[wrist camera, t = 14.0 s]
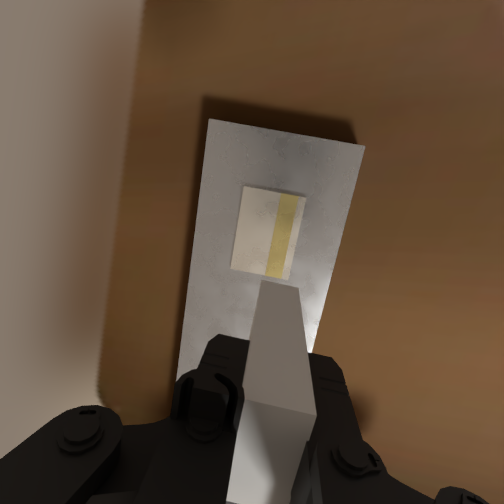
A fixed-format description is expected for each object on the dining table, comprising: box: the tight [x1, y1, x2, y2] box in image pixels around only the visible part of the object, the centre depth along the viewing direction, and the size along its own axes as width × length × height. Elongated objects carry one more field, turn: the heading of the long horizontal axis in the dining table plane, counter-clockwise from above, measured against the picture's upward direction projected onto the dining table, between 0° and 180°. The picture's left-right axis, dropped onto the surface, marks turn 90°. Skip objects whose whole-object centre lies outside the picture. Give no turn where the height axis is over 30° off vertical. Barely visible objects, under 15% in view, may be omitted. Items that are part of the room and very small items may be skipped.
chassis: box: [176, 119, 365, 381], centre depth 27 cm, size 34×12×6 cm, turn 170°
